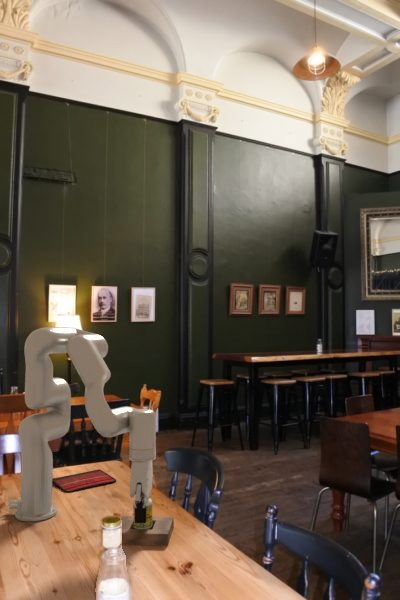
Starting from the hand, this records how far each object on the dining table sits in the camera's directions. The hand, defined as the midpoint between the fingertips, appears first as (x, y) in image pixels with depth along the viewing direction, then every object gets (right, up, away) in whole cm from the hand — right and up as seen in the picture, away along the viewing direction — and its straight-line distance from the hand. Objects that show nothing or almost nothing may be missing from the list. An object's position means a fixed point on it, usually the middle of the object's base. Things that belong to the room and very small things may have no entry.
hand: (142, 517), depth 136 cm
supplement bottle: (0, -3, 0) cm, 3 cm away
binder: (-28, -9, +49) cm, 57 cm away
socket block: (0, -5, 0) cm, 5 cm away
